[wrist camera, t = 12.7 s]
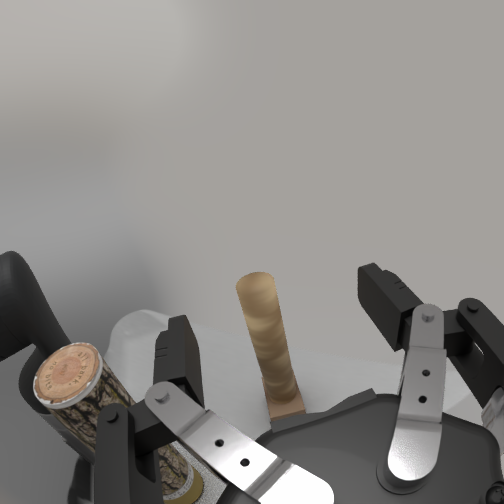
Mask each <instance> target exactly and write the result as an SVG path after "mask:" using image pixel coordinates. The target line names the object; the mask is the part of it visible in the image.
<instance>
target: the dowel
mask: <svg viewBox="0 0 504 504" xmlns="http://www.w3.org/2000/svg"><path fill="white" fill-rule="evenodd" d="M236 290H237V293H238V297H239V300H240V303H241V307H242V310H243V314H244V317H245V320H246V324H247V327H248V330H249V334H250V337H251V340H252V343H253V347H254V350H255V353H256V356H257V360H258V363H259V366H260V369H261V372H262V376H263V379H264V382H265V385H266V388H267V392H268V395H269V398H270V400H271V401H272V402H274V403H276V404H287V403H289V402H291V401H292V400H293V399H294V398H295V396H296V387H295V381H294V376H293V371H292V366H291V361H290V356H289V351H288V346H287V341H286V336H285V331H284V327H283V321H282V316H281V311H280V306H279V302H278V297H277V292H276V287H275V282H274V278H273V277H272V275H270V274H269V273H265V272H255V273H251V274H248V275H246V276H244V277H242V278H241V279H240V280H239V281H238V282H237V284H236Z"/></svg>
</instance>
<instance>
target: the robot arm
mask: <svg viewBox="0 0 504 504" xmlns="http://www.w3.org/2000/svg"><path fill="white" fill-rule="evenodd" d="M358 299H359V302H360V304H361V306H362V307H363V308H364V310H365V311H366V313H367V314H368V315H369V317H370V318H371V320H372V321H373V322H374V324H375V325H376V326H377V328H378V329H379V331H380V332H381V333H382V335H383V336H384V338H385V339H386V340H387V342H388V343H389V345H390V346H391V347H392V349H393V350H394V352H396V351H398V350H400V349H402V348H403V349H404V351H405V355H404V361H403V367H402V372H401V378H400V383H399V388H398V392H397V395H395V394H375V392H374V391H373V389H372V388H371V389H368V390H366V391H363V392H361V393H358V394H356V395H353V396H350V397H348V398H346V399H345V400H343V401H342V402H340V403H339V404H337V405H336V406H334V407H332V408H331V409H329V410H327V411H325V412H320V413H310V414H298V415H293V416H290V417H286V418H283V419H279V420H276V421H272V422H270V424H271V427H272V429H270V430H269V431H267V432H265V433H264V434H262V435H261V436H260V437H258V438H257V439H256V440H255V441H253V440H252V439H250V438H249V437H247V436H246V435H244V434H243V433H242V432H240V431H239V430H237V429H236V428H235V427H233V426H232V425H230V424H229V423H228V422H226V421H225V420H224V419H222V418H221V417H220V416H218V415H217V414H216V413H214V412H213V411H211V410H207V411H206V410H205V406H204V397H203V387H202V376H201V365H200V353H199V347H198V343H197V340H196V337H195V335H194V333H193V330H192V328H191V326H190V323H189V321H188V319H187V317H186V315H181V316H177V317H172V318H169V322H168V330H167V331H162V332H160V334H159V336H158V338H157V340H156V345H155V360H154V376H153V386H151V387H150V388H149V389H148V391H147V392H146V395H145V399H143V400H142V401H140V402H138V403H136V404H134V405H132V406H129V407H127V408H126V407H125V406H124V405H122V404H120V403H111V404H108V405H107V406H105V407H104V408H103V409H102V410H101V411H100V413H99V415H98V418H97V429H96V444H95V453H94V452H92V451H91V450H90V449H89V448H88V447H87V446H85V445H84V444H83V443H82V442H81V441H80V440H79V439H77V438H76V437H75V436H74V435H73V434H72V433H71V432H70V431H69V430H68V429H67V428H65V427H64V426H63V425H62V424H61V423H60V422H59V421H58V420H57V419H56V418H55V417H54V416H53V415H52V414H51V413H50V412H49V411H48V410H47V409H46V408H45V407H44V405H43V404H42V403H41V402H40V401H39V400H38V399H37V397H36V396H35V393H34V389H33V384H34V379H35V376H36V373H37V371H38V369H39V368H40V366H41V365H42V364H43V362H44V361H45V360H46V359H47V358H48V357H49V356H50V355H52V354H53V353H54V352H56V351H57V350H59V349H61V348H63V347H65V346H67V345H70V344H71V342H70V341H69V339H68V337H67V336H66V335H65V333H64V331H63V330H62V328H61V326H60V325H59V323H58V321H57V319H56V318H55V316H54V314H53V312H52V310H51V308H50V307H49V304H48V303H47V301H46V298H45V296H44V295H43V292H42V290H41V288H40V286H39V284H38V282H37V280H36V278H35V276H34V274H33V272H32V271H31V269H30V267H29V265H28V264H27V263H26V261H25V260H24V259H23V257H21V256H20V255H19V254H18V253H16V252H14V251H9V252H5V253H4V254H2V255H0V362H1V361H3V360H5V359H6V358H8V357H10V356H11V355H13V354H15V353H17V352H18V351H20V350H22V349H24V348H25V347H27V346H29V345H30V344H32V343H33V344H34V345H36V349H35V350H34V352H33V354H32V355H31V356H30V357H29V359H28V360H27V362H26V363H25V365H24V367H23V368H22V371H21V374H20V377H19V390H20V393H21V395H22V397H23V398H24V400H25V401H26V402H27V403H28V404H29V405H30V406H31V407H32V408H33V409H34V410H35V411H36V412H37V413H38V414H39V415H40V416H41V417H42V418H43V419H44V420H45V421H46V422H47V423H48V424H49V425H50V426H51V427H52V428H53V429H54V430H56V431H57V432H58V433H59V434H60V435H61V436H62V439H63V441H64V442H66V444H68V445H69V446H70V447H71V448H72V449H74V450H75V451H76V452H77V453H78V454H80V455H81V456H82V457H83V458H85V459H86V460H87V461H88V462H90V463H91V464H92V465H94V466H95V467H94V504H164V499H163V491H162V483H161V474H160V464H159V454H158V448H161V447H163V446H165V445H167V444H170V443H172V442H174V441H177V442H178V443H180V444H181V445H182V446H183V447H184V448H185V449H186V450H187V451H188V452H189V453H190V454H191V455H192V456H194V457H195V458H196V459H197V460H198V461H199V462H200V463H201V464H203V465H204V466H205V467H206V468H207V469H208V470H209V471H210V472H211V473H212V474H214V475H215V476H216V477H217V478H218V479H219V480H221V481H222V482H223V483H224V484H226V485H227V486H226V488H225V490H224V491H223V493H222V495H221V496H220V498H219V500H218V501H217V503H216V504H504V479H503V475H502V470H501V461H500V456H501V455H502V454H504V325H503V324H502V323H501V322H500V321H499V320H498V319H497V318H496V317H495V315H493V313H492V312H491V311H490V310H489V309H488V308H487V307H486V306H485V305H484V304H483V303H482V302H481V301H479V300H477V299H474V298H466V299H463V300H462V301H460V303H459V305H458V309H454V310H448V311H442V310H441V309H440V308H439V307H437V306H435V305H432V304H424V303H423V302H422V301H421V300H420V299H419V298H418V297H417V296H416V295H415V294H414V293H413V292H412V291H411V290H410V289H409V288H408V287H407V286H406V285H405V284H404V283H403V282H402V281H401V279H400V278H399V277H398V276H397V275H396V274H394V273H392V272H390V271H388V270H384V271H382V270H381V269H380V268H379V267H378V266H377V265H376V264H375V263H371V264H368V265H364V266H362V267H359V268H358ZM475 343H476V344H477V345H478V347H479V348H480V349H481V350H482V352H483V354H484V355H483V354H482V352H481V351H480V350H479V349H478V347H477V346H476V345H475ZM446 357H448V358H449V359H450V361H451V362H452V364H453V365H454V366H455V368H456V369H457V371H458V372H459V374H460V375H461V377H462V378H463V380H464V381H465V383H466V384H467V386H468V387H469V389H470V390H471V392H472V393H473V395H474V396H475V398H476V399H477V401H478V402H479V404H480V406H481V407H482V409H483V411H482V415H481V417H482V422H483V426H480V425H477V424H474V423H471V422H469V421H466V420H463V419H460V418H457V417H454V416H452V415H449V414H446V413H444V412H442V409H443V399H444V388H445V374H446Z"/></svg>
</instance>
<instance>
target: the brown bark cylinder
mask: <svg viewBox="0 0 504 504" xmlns="http://www.w3.org/2000/svg"><path fill="white" fill-rule="evenodd" d="M33 389H34V393H35V396H36V397H37V399H38V400H39V401H40V402H41V403H42V404H43V405H44V407H45V408H46V409H47V410H48V411H49V412H50V413H51V414H52V415H53V416H54V417H55V418H56V419H57V420H58V421H59V422H60V423H61V424H62V425H63V426H64V427H65V428H67V429H68V430H69V431H70V432H71V433H72V434H73V435H74V436H75V437H76V438H77V439H79V440H80V441H81V442H82V443H83V444H84V445H85V446H87V447H88V448H89V449H90V450H91V451H92V452H94V453H95V444H96V429H97V418H98V415H99V413H100V411H101V410H102V409H103V408H104V407H105V406H107V405H108V404H111V403H120V404H122V405H124V406H125V407H126V408H127V407H129V406H132V405H134V404H136V402H135V401H134V400H133V399H132V397H131V396H130V395H129V393H128V392H127V391H126V390H125V388H124V387H123V386H122V384H121V383H120V382H119V380H118V379H117V378H116V376H115V375H114V373H113V372H112V371H111V369H110V368H109V366H108V365H107V364H106V362H105V361H104V359H103V358H102V356H101V355H100V354H99V352H98V351H97V349H96V348H95V347H94V346H92V345H90V344H87V343H74V344H70V345H67V346H65V347H63V348H61V349H59V350H57V351H56V352H54V353H53V354H52V355H50V356H49V357H48V358H47V359H46V360H45V361H44V362H43V364H42V365H41V366H40V368H39V369H38V371H37V373H36V376H35V379H34V384H33ZM158 454H159V464H160V474H161V483H162V491H163V499H164V503H166V504H191V503H193V502H194V501H196V500H197V499H198V498H199V496H200V495H201V492H202V489H203V480H202V477H201V475H200V474H199V472H198V471H197V470H196V469H195V468H194V467H193V466H192V465H191V464H190V463H189V462H188V461H187V460H186V459H185V458H184V457H183V456H182V455H181V454H180V453H179V452H178V451H177V450H176V449H175V448H174V446H173V445H172V444H171V443H170V444H167V445H165V446H163V447H161V448H158Z"/></svg>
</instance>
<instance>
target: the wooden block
mask: <svg viewBox="0 0 504 504" xmlns="http://www.w3.org/2000/svg"><path fill="white" fill-rule="evenodd" d="M292 371H293V370H292ZM293 376H294V381H295V387H296V396H295V398H294V399H293V400H292V401H291V402H289V403H287V404H276V403H274V402H272V401H271V400H270V398H269V395H268V392H267V388H266V385H265V382H264V379H263V377H262V381H263V386H264V391H265V396H266V400H267V405H268V409H269V414H270V419H271V421H276V420H279V419H283V418H286V417H290V416H293V415H298V414H306V412H305V407H304V404H303V401H302V398H301V394H300V391H299V388H298V385H297V382H296V378H295V375H294V372H293Z"/></svg>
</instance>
